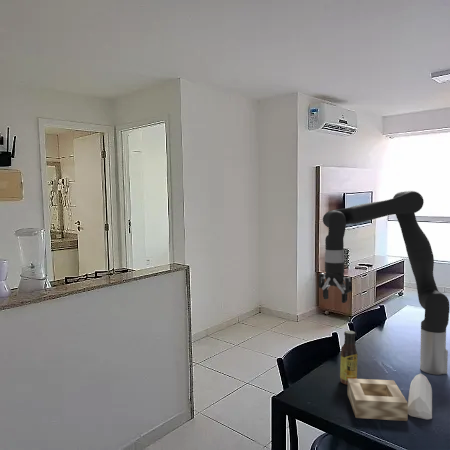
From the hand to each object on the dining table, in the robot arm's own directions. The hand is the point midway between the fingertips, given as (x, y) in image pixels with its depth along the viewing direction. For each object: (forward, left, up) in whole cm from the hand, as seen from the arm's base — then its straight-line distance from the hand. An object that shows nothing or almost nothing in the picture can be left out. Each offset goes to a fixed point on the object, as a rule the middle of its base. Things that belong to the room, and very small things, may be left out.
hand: (334, 300), depth 163 cm
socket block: (-10, +25, -30) cm, 41 cm away
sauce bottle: (-4, +7, -30) cm, 32 cm away
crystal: (-26, +21, -31) cm, 46 cm away
